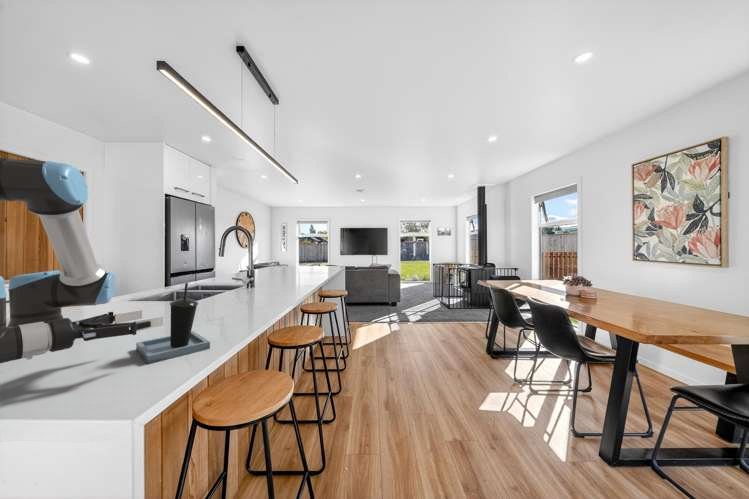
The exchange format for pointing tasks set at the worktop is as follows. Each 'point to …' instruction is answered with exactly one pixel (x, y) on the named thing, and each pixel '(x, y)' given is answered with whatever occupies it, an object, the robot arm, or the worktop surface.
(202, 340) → the slate tray
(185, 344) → the drinking cup
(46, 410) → the worktop surface
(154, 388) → the worktop surface
